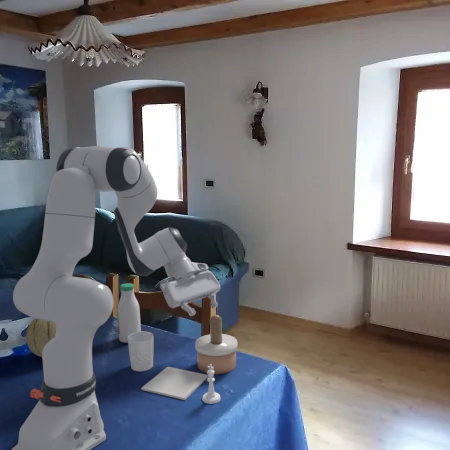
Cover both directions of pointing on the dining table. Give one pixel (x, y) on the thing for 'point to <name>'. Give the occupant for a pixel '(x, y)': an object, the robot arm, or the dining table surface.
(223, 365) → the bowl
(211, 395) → the chess piece
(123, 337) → the milk bottle
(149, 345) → the white cup
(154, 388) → the mat
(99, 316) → the robot arm
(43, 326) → the cantaloupe
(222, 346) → the lid
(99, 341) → the dining table surface
